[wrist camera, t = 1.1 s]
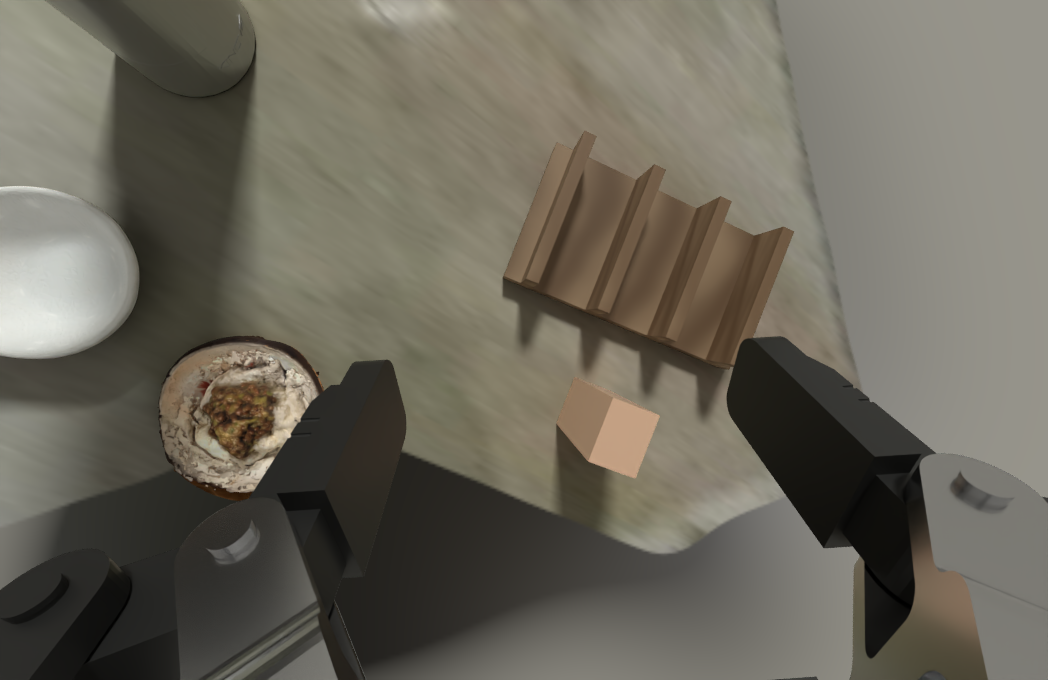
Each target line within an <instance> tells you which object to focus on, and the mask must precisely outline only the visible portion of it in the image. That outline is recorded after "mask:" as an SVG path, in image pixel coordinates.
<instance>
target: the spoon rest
mask: <svg viewBox="0 0 1048 680" xmlns="http://www.w3.org/2000/svg"><path fill="white" fill-rule="evenodd" d="M138 290H139V266H138V261H137V258H136V254H135V252H134V249H133V247H132V245H131V243H130V241H129V239H128V237H127V236H126V234H125V233H124V231H123V230H122V228H121V227H120V226H119V225H118V224H117V223H116V221H115V220H113V219H112V218H111V217H110V216H109V215H108V214H107V213H105V212H104V211H103V210H101V209H100V208H98V207H96V206H95V205H93V204H91V203H89V202H87V201H85V200H83V199H81V198H78V197H75V196H73V195H70V194H67V193H63V192H60V191H56V190H52V189H46V188H40V187H28V186H9V187H0V356H5V357H12V358H23V359H49V358H58V357H64V356H68V355H72V354H75V353H79V352H81V351H84V350H86V349H88V348H91V347H93V346H95V345H97V344H99V343H100V342H102V341H103V340H105V339H106V338H108V337H109V336H110V335H112V334H113V333H114V332H115V331H116V330H117V329H118V328H119V327H120V326H121V325H122V324H123V323H124V322H125V321H126V319H127V318H128V317H129V315H130V313H131V312H132V310H133V308H134V306H135V303H136V300H137V296H138Z"/></svg>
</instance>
